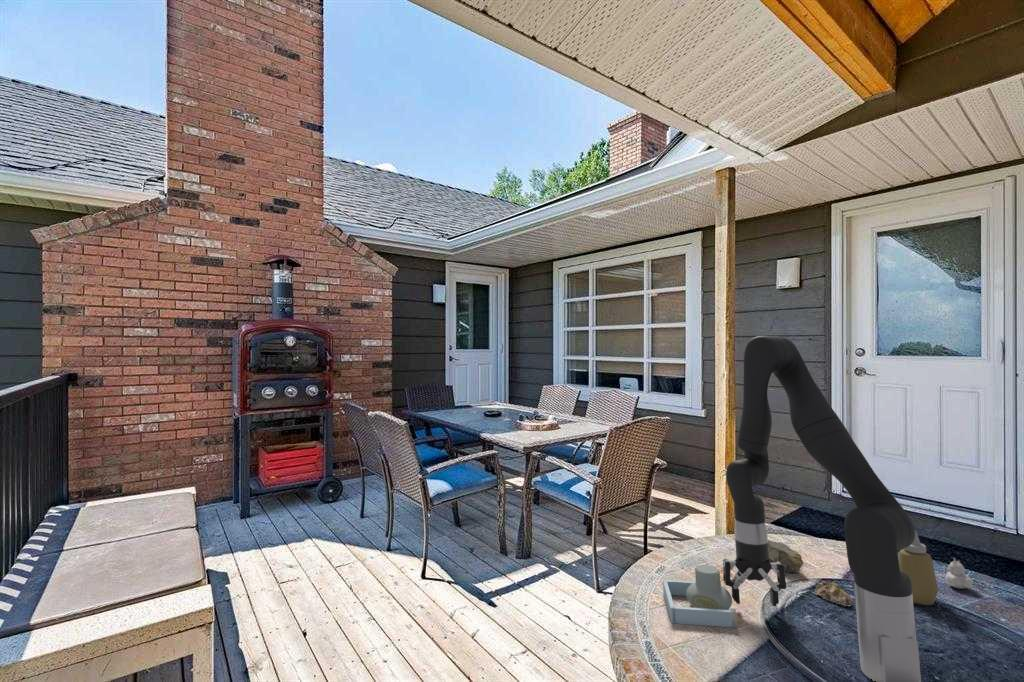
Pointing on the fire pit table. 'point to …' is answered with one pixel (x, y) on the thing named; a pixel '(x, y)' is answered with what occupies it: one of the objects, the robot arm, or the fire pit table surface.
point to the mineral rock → (833, 593)
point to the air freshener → (708, 590)
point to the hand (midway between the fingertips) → (755, 603)
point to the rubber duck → (958, 576)
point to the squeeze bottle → (919, 572)
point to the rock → (784, 556)
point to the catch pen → (695, 614)
